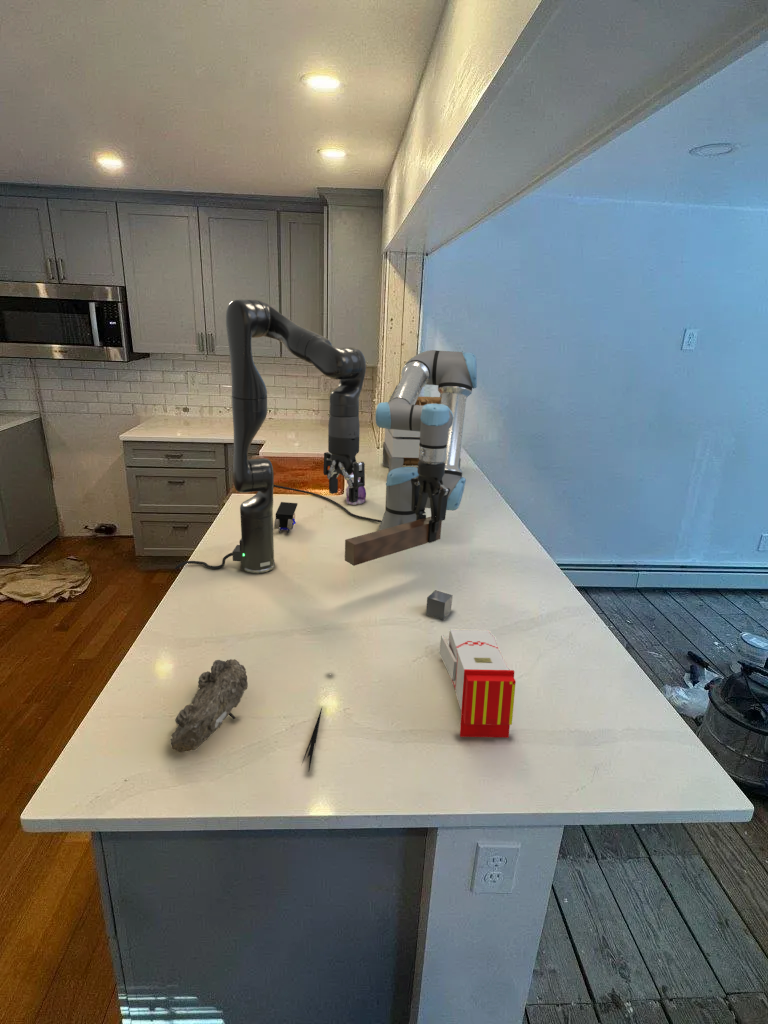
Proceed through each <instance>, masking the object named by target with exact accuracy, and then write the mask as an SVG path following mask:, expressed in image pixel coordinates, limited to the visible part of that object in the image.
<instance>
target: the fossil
mask: <svg viewBox="0 0 768 1024" xmlns="http://www.w3.org/2000/svg"><path fill="white" fill-rule="evenodd" d="M197 683H198V684H197V687H198V690H197V691H196V693H195V694H194V697H193V698H192V701H191V704H187V705H185V706H184V707H183V708H182V709H181V710H179V712H178V713H177V715H176V717H175V719H174V721H175V723H176V725H177V726H176V728H175V730H174V731H173V732H172V733H171V735H170V736H171V738H170V747H171V750H172V751H176V752H178V753H186V752H190V751H193V752H195V751H197V750H198V749H199V748H200V747H201V746H202V745H203V744H204V743H205V742H207V741H208V740H209V739H210V737H211V736H212V735H213V734H215V733H216V731H218V730H219V729H220V728H221V726H222V725H223V723H224V721H225V720H226V719H227V718H228V717H230V718H232V720H235V719H236V716H235V715H234V714H233V713H232V710H233V709H235V708H237V706H238V705H239V704H240V702H241V700H242V698H243V696H244V693H245V691H246V690H247V689H248V686H249V685H248V675H247V669H246V668H245V666H244V665H243V664H241V663H240V661H238V660H237V659H236V658H234V659H232V658H230V659H226V660H221V659H216V660H214V661H213V662H212V665H211V667H210V671H208V670H207V671H205V672H201V674H200V675H199V676H198V681H197Z"/></svg>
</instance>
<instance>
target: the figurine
mask: <svg viewBox="0 0 768 1024" xmlns="http://www.w3.org/2000/svg"><path fill="white" fill-rule="evenodd" d="M350 475H353V472H352V473H351V474H350ZM358 480H359V482H360V477H359V478H358ZM352 482H353V483H354V479H352ZM346 484H347V487H346V490H345V495H346V498H345V502H346V505H352V506H356V505H361V504H364V503H365V502H366V498H367V491H366V488H365V485H364V486H361V487H359V488H358V501H357V502H353V503H351V502H349V488H350V486H349V484H348V481H347V480H346Z"/></svg>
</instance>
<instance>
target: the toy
mask: <svg viewBox="0 0 768 1024" xmlns="http://www.w3.org/2000/svg"><path fill="white" fill-rule="evenodd" d="M438 654H439V656H440V658H441V660H442V662H443V665H444V666H445V668H446V671H447V673H448V675H449V677H450V681H451V683H452V685H453V689H454V690H455V695H456V698H457V702H458V705H459V708H460V726H459V737H460V738H509V737H510V728H511V727H510V726H512V725H513V717H514V706H515V705H514V704H515V693H516V684H517V683H516V679H515V670H514V669H510V667H509V666H508V663H507V662H506V660H505V658H504V655H503V654H502V652H501V650H500V648H499V644H498V642H497V638H496V635H495V634H492V632H491V631H490V629H467V628H466V629H465V628H463V629H461V628H460V629H459V628H450V629H449V631H448V641H447V639H446V638H445V636H444V634H443V635H442V634H441V635H440V641H439V651H438Z"/></svg>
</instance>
